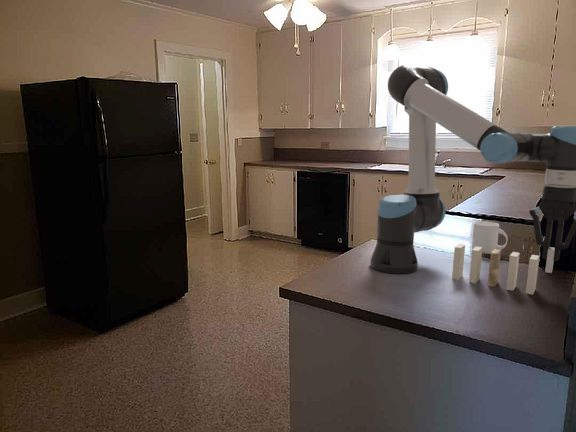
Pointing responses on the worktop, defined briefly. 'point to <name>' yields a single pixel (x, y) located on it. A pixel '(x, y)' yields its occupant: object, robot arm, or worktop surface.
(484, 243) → the mug
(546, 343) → the worktop surface
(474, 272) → the tile
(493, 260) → the tile
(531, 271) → the tile
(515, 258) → the tile
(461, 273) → the tile
